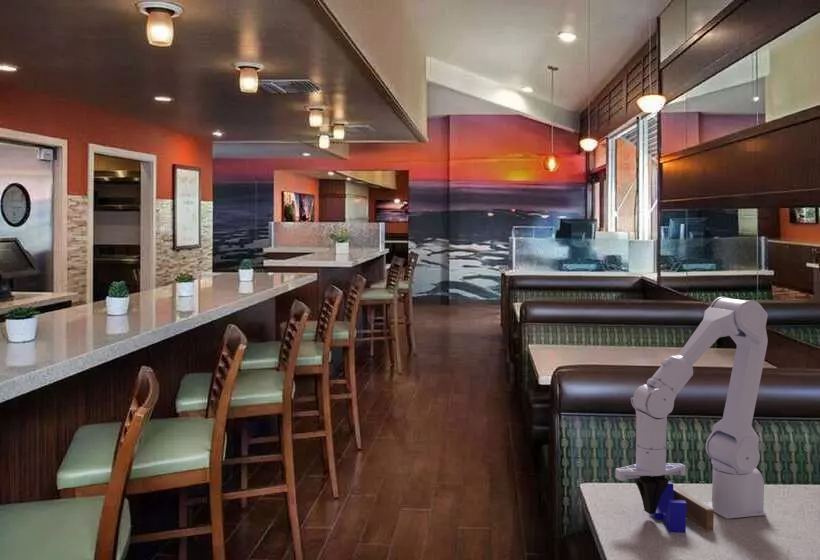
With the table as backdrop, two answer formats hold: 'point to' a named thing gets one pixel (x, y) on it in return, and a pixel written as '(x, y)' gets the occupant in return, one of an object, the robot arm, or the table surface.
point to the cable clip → (671, 511)
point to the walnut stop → (696, 510)
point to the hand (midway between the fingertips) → (649, 511)
